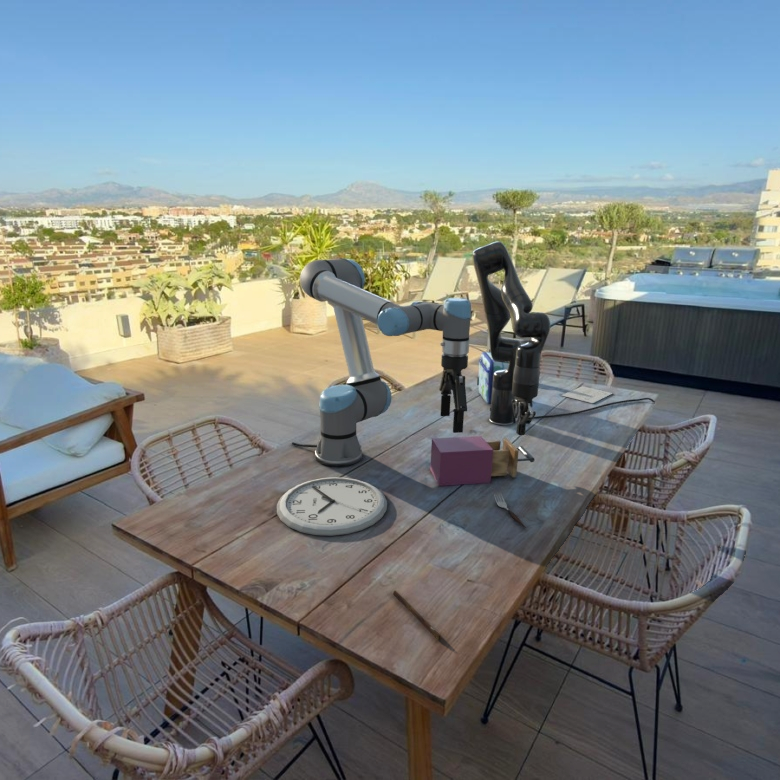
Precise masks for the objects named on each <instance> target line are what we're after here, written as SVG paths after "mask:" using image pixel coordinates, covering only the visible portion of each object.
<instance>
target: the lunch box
mask: <svg viewBox="0 0 780 780" xmlns="http://www.w3.org/2000/svg"><path fill="white" fill-rule="evenodd" d="M508 366H509V363H502V362H497V361H494V360H493V359H492V356H491V352H489V351H482V352H481V354H480V358H479V360H478V377H477V381H476V384H477V385H476V386H478V393H479V395H480V396H481V397H482V399H483V400H484V402H485V404H487V405H488V406H489V405H490V406H491V398H492V385H493V374H494V372H495V371H497V370H502V369H506V368H508Z"/></svg>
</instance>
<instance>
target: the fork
mask: <svg viewBox="0 0 780 780" xmlns="http://www.w3.org/2000/svg"><path fill="white" fill-rule="evenodd" d="M497 494H498V495H497ZM493 497H494V499H495V503H496V505H497V506H498V507H499V508H502V509H505V510H507V512H508V514H509V515H510V517H511V518H513V519H514V521H516V522H517V523H518V524H519V525H521V526H522V527H523V528H524V529H526V525H524V523H523V522H522V521H521V520H520V518H519V517H518V516H517V515H516V514H515V513H514V512H513V511H511V509H509V508H508V504H507V502H506V501H505V499H504V497H503V495H502V493H499V492H498V493H495V494H493Z"/></svg>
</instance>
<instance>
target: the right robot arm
mask: <svg viewBox="0 0 780 780" xmlns="http://www.w3.org/2000/svg"><path fill="white" fill-rule="evenodd" d="M471 255H472V256H471V259H472V265H473V268H474V272H475V275H476V279H477V282H478V286H479V291H480V295H481V301H482V308H483V312H484V317H485V321H486V326H487V331H488V340H489V349H490V351H491V356H492V359H493V360H494V361H497V362H502V363H508V368H506V369H502V370H497V371H495V372H494V374H493V385H492V398H491V404H490V407H489V411H490V413H489V414H490V415H489V422H490V423H491V424H494V425H497V426H511V425H513V424H516V432H515V433H516V434H517V436H525V435H526V429H527V425H531V423H532V421H533V420H535V419H544V418H546V419H547V418H556V417H564V416H571V415H577V414H581V413H585V412H589V411H593V410H596V409H597V410H598V409H600V408H603V407H608V406H612V405H617V404H623V403H629V402H640V401H645V400H646V401H651V402H652V403H654V402H655V400H654V399H653V398H651V397H642V398H633V399H626V400H620V401H613V402H610V403H606V404H600V405H598V406H594V407H590V408H586V409H582V410H579V411H573V412H567V413H559V414H549V415H539V416H537V415H536V414H537V413H536V411H535V410H533V406H534V404H533V400H534V399H535V398H537V397H538V394H539V384H540V377H541V375H540V374H541V358H542V352H543V349H544V347H545V344H546V342H547V339H548V336H549V335H550V330H551V320H550V317H549V316H548V314H546V313H545V312H532V309H533V306H534V305H533V302H532V299H531V298H530V296H529V294H528V293H527V291H526V289H525V288H524V286H523V285H522V282H521V280H520V278H519V274H518V272H517V270H516V267H515V265H514V263H513V259H512V258H511V255H510V253H509V251H508V249H507V247H506V246H505V244H504V243H503V242H502V241H494V242H491V243H489V244H486V245H483V246H481V247H478V248H476V249H474V250H473V252H472V254H471ZM501 271H504V276H503V281H502V285H501V288H499V287H498V286H496V285H495V284H494V283H493V282H492V281H490V279H489V276H491V275H493V274H496V273H499V272H501ZM509 322H511V327H512V328H511V329H512V332H513V334H515V336H516V337H518V338H521V339H528V338H529V340H528V342H526V343H523V344H522V342H521V341H520V340H518V339H513V338H504V337H502V335H501V333H502V331H503V330H504V329H505V327H506V326H507V325H508V323H509Z"/></svg>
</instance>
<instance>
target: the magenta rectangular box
mask: <svg viewBox="0 0 780 780" xmlns="http://www.w3.org/2000/svg"><path fill="white" fill-rule="evenodd" d="M486 441H487V440H485V438H484V437H483V436H482V435H478V436H477V435H475V436H455V437H436V438H431V444H430V445H431V449H430V469H429V470H430V472H431V474H432V476H433V478H434V481H436V483H437V485H438V487H445V486H460V485H476V484H477V485H478V484H491V481H492V476H491V471H492V459H493V449H492V448H491V447H490V445H489V444H488V443H487V442H486Z"/></svg>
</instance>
